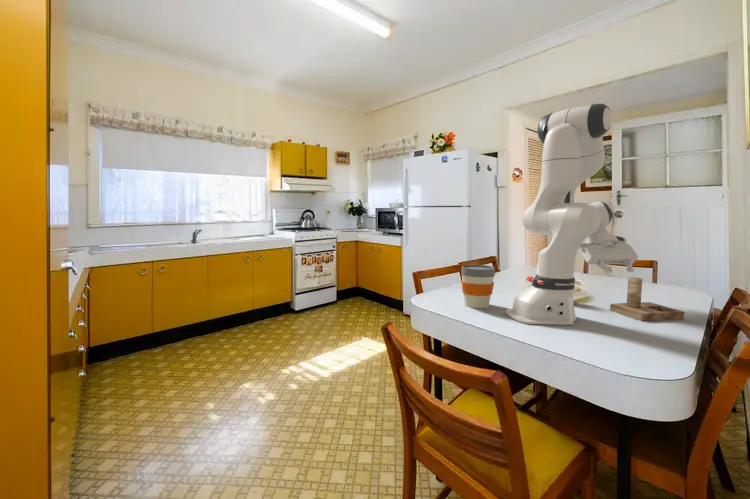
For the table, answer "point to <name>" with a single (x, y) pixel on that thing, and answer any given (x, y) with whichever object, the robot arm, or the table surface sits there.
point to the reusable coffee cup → (477, 285)
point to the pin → (634, 292)
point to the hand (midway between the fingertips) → (620, 271)
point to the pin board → (647, 311)
